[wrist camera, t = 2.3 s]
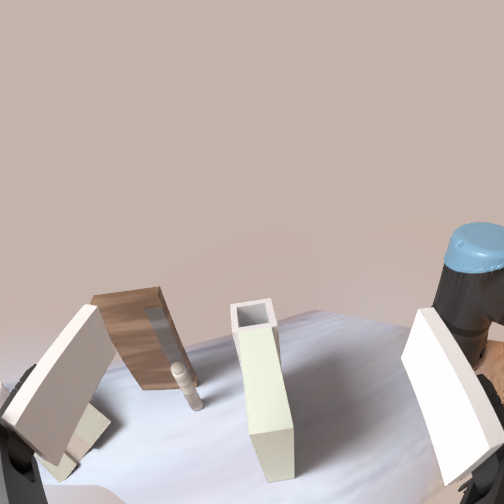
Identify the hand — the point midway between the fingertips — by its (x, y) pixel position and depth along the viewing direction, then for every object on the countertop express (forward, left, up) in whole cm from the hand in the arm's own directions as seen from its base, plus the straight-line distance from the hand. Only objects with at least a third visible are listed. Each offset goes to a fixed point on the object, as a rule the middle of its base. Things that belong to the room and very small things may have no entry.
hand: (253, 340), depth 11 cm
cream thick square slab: (+4, -10, -32) cm, 33 cm away
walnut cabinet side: (+21, -12, -32) cm, 40 cm away
